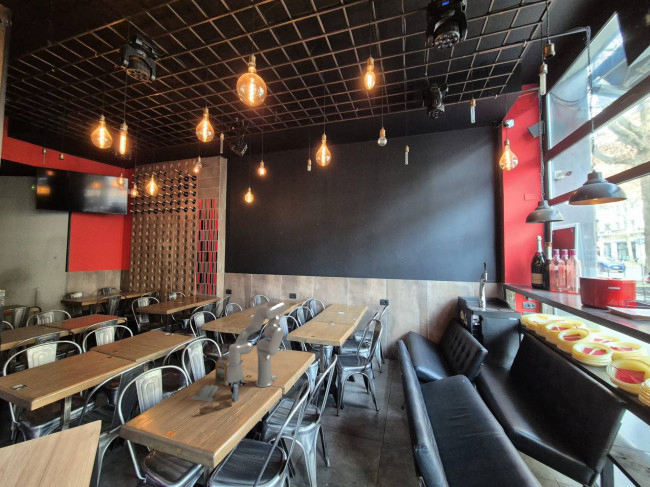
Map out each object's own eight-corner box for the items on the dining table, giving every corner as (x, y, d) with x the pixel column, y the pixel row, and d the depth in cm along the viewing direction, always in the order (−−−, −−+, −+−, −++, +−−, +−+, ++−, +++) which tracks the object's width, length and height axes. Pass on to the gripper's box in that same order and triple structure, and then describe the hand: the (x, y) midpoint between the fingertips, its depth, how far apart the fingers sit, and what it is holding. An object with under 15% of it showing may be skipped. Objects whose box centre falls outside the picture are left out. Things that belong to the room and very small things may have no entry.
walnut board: (231, 405, 162) (231, 398, 162) (231, 406, 161) (231, 399, 161) (199, 414, 153) (199, 407, 153) (199, 416, 152) (199, 409, 152)
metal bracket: (202, 382, 182) (222, 383, 179) (204, 389, 183) (223, 390, 180) (188, 398, 168) (209, 400, 165) (190, 406, 170) (211, 408, 167)
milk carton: (236, 379, 197) (236, 354, 198) (225, 386, 187) (225, 359, 188) (226, 377, 201) (226, 352, 202) (215, 382, 192) (215, 356, 193)
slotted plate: (231, 394, 175) (231, 381, 175) (234, 393, 176) (234, 380, 177) (234, 401, 167) (234, 387, 167) (238, 400, 168) (238, 386, 168)
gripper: (245, 359, 180) (245, 386, 179) (221, 364, 172) (220, 393, 171) (248, 362, 174) (248, 391, 173) (223, 368, 165) (223, 398, 164)
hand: (234, 391), depth 172 cm, fingers closed on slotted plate, 2 cm apart
